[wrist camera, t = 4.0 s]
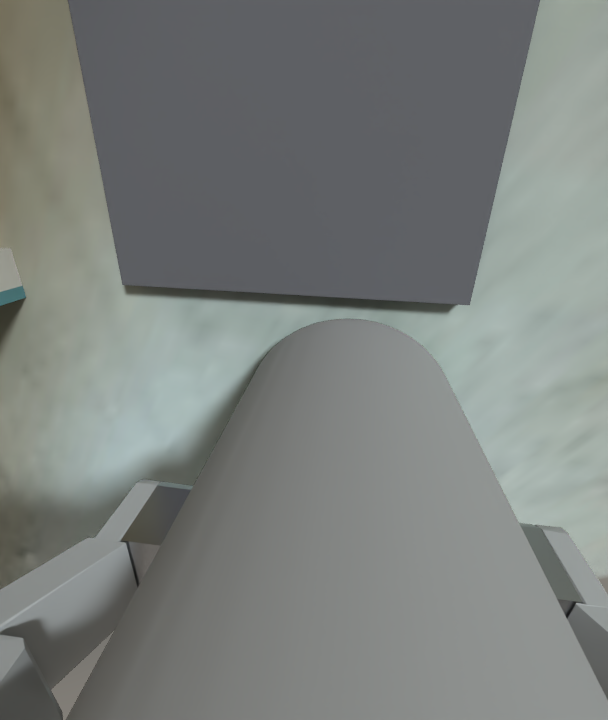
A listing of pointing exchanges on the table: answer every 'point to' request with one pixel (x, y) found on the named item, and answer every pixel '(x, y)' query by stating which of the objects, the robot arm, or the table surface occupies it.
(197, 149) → the mat
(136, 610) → the beverage can
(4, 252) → the tile
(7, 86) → the table surface
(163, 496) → the robot arm
